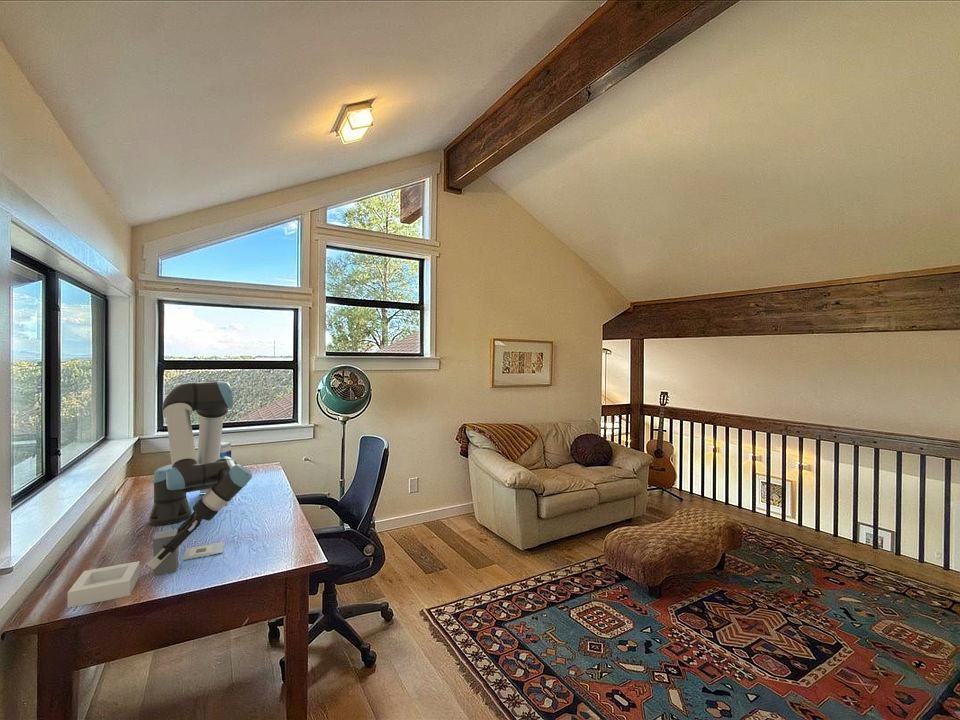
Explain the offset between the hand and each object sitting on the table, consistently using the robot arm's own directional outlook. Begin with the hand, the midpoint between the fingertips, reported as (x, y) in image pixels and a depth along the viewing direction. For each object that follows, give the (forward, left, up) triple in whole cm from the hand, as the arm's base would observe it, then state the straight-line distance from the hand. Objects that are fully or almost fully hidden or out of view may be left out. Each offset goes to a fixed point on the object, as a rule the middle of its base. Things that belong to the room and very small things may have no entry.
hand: (152, 562), depth 144 cm
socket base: (+7, -10, -3) cm, 13 cm away
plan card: (-10, +14, -3) cm, 17 cm away
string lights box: (-87, +13, -4) cm, 88 cm away
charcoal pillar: (0, +4, -3) cm, 5 cm away
